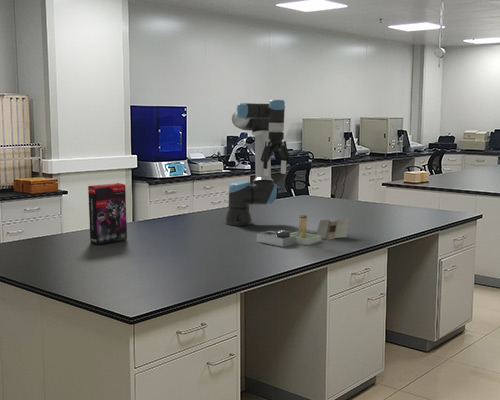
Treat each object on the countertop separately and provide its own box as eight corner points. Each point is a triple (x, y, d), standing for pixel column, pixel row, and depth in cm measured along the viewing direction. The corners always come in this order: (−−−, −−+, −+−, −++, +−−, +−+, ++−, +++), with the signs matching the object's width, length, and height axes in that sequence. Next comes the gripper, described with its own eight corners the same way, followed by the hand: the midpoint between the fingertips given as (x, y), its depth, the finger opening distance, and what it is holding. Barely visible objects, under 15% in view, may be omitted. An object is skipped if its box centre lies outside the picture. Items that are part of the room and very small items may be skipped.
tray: (283, 240, 299) (283, 234, 299) (298, 237, 308) (298, 231, 308) (306, 245, 290) (307, 239, 290) (321, 241, 299) (321, 235, 299)
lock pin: (297, 239, 299) (298, 215, 297) (301, 238, 302) (302, 214, 300) (303, 240, 297) (304, 216, 295) (307, 239, 299) (308, 215, 297)
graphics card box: (96, 245, 280) (95, 187, 275) (88, 243, 284) (87, 185, 280) (127, 240, 292) (127, 184, 288) (118, 238, 297) (118, 182, 292)
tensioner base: (256, 241, 296) (256, 228, 295) (269, 238, 304) (269, 225, 303) (282, 247, 286) (283, 233, 285) (295, 243, 293) (295, 230, 292)
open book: (350, 247, 306) (352, 224, 316) (347, 237, 300) (349, 213, 310) (318, 249, 312) (321, 226, 322) (314, 238, 306) (317, 215, 316)
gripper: (266, 132, 287) (264, 177, 291) (297, 131, 306) (296, 173, 309) (253, 131, 292) (252, 175, 295) (285, 130, 311) (284, 172, 314)
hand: (274, 174), depth 302 cm, fingers open, 13 cm apart
